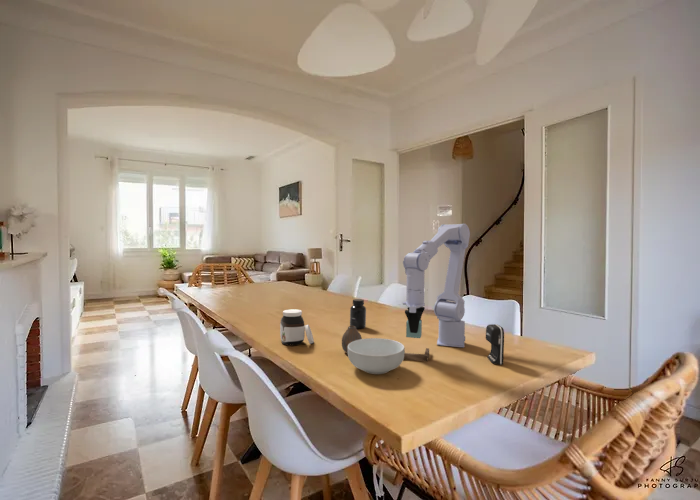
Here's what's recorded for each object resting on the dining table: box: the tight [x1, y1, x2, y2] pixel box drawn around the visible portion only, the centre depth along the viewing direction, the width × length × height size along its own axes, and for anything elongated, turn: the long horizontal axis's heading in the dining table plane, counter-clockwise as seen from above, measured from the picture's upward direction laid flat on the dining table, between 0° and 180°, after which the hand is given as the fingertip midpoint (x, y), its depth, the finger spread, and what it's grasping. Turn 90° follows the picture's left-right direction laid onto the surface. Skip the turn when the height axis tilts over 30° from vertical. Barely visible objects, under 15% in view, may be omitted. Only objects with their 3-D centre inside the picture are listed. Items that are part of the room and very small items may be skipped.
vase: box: [341, 325, 363, 355], centre depth 121 cm, size 7×7×9 cm
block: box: [405, 319, 423, 339], centre depth 118 cm, size 4×4×5 cm
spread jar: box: [279, 308, 315, 346], centre depth 132 cm, size 12×11×12 cm
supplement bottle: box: [349, 298, 367, 330], centre depth 155 cm, size 7×7×12 cm
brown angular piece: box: [403, 347, 430, 362], centre depth 119 cm, size 17×8×2 cm, turn 74°
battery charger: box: [485, 323, 505, 365], centre depth 113 cm, size 7×4×11 cm, turn 177°
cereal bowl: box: [347, 337, 406, 375], centre depth 105 cm, size 17×17×7 cm
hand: (414, 330), depth 118 cm, fingers closed on block, 4 cm apart
